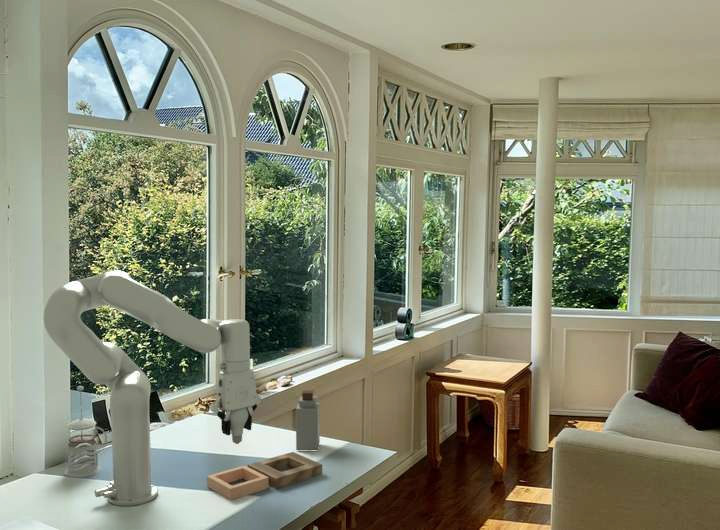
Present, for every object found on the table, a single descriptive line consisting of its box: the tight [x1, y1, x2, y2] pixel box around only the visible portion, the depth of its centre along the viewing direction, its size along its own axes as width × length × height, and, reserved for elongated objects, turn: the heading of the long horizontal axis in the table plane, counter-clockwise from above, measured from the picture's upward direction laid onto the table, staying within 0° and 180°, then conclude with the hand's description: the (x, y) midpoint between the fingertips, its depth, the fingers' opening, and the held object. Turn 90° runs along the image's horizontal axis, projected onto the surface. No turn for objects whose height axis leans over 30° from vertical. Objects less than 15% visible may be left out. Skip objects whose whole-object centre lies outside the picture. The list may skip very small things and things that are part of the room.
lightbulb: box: [228, 408, 248, 445], centre depth 195 cm, size 6×6×11 cm
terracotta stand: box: [206, 464, 270, 501], centre depth 197 cm, size 12×12×3 cm
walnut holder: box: [246, 451, 323, 490], centre depth 206 cm, size 16×14×3 cm
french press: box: [64, 385, 108, 478], centre depth 208 cm, size 10×12×25 cm
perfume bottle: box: [295, 389, 321, 451], centre depth 228 cm, size 7×7×18 cm
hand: (236, 430), depth 195 cm, fingers closed on lightbulb, 5 cm apart
